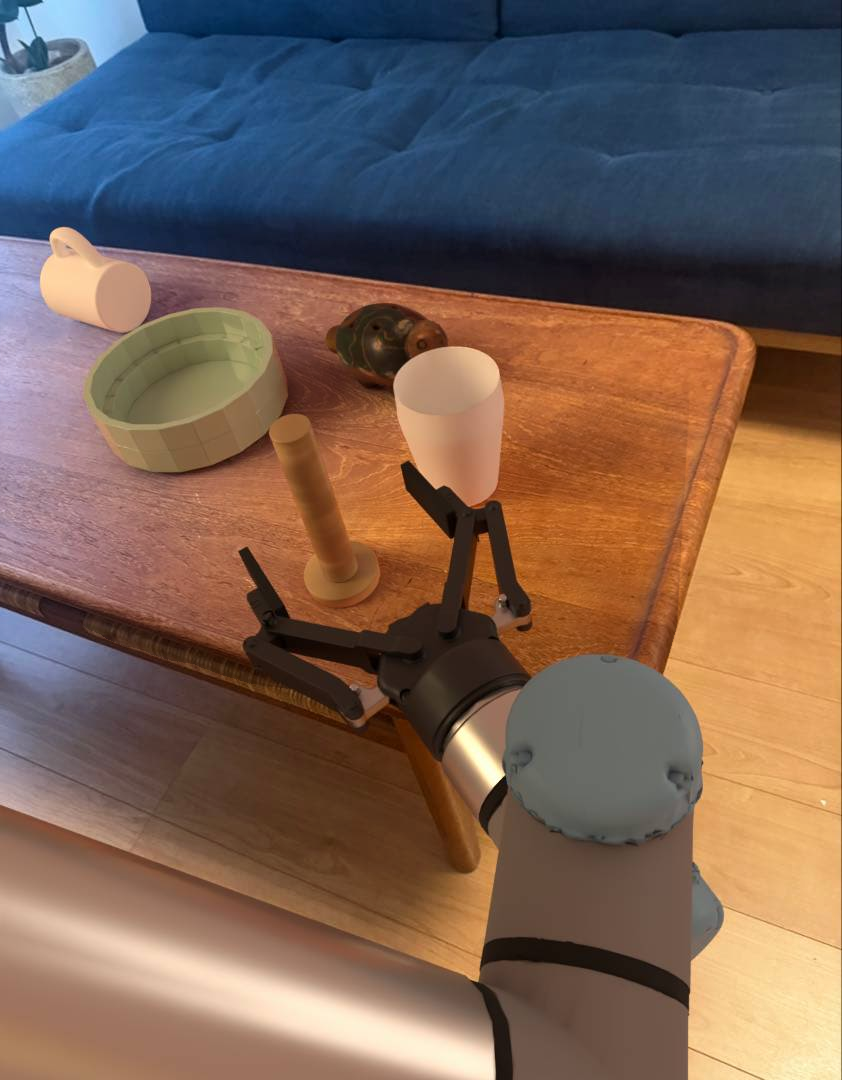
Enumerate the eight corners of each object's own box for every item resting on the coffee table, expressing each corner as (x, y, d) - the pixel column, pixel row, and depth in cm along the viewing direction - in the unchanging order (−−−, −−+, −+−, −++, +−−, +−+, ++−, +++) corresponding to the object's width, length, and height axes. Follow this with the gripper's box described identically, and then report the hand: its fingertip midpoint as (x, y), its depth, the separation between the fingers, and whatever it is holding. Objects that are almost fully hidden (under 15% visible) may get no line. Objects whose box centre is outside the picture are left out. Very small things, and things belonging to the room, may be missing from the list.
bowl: (103, 496, 81) (72, 448, 77) (119, 378, 94) (94, 330, 90) (295, 453, 81) (276, 402, 76) (284, 340, 94) (268, 291, 89)
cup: (403, 515, 74) (378, 413, 65) (426, 446, 79) (406, 343, 70) (501, 523, 71) (490, 419, 62) (518, 451, 77) (510, 346, 68)
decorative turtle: (439, 417, 82) (420, 354, 76) (316, 396, 88) (290, 336, 82) (478, 355, 86) (464, 290, 80) (359, 340, 93) (337, 279, 87)
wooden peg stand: (309, 615, 68) (245, 468, 55) (304, 558, 72) (244, 408, 59) (385, 598, 68) (338, 447, 55) (375, 542, 72) (330, 389, 59)
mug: (115, 346, 99) (68, 256, 90) (60, 329, 103) (10, 242, 94) (161, 308, 103) (121, 219, 94) (106, 293, 107) (63, 206, 98)
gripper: (319, 870, 48) (195, 628, 61) (651, 653, 54) (473, 475, 67) (284, 820, 42) (155, 566, 55) (659, 584, 48) (463, 405, 61)
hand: (329, 516), depth 61 cm, fingers open, 13 cm apart
